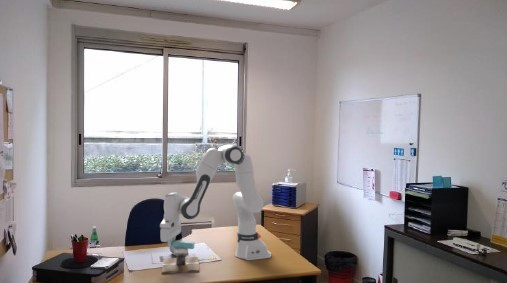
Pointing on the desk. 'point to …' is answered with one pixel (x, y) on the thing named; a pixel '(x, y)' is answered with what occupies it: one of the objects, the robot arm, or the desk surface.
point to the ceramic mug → (172, 250)
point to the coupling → (181, 247)
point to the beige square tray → (180, 265)
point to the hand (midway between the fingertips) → (171, 245)
